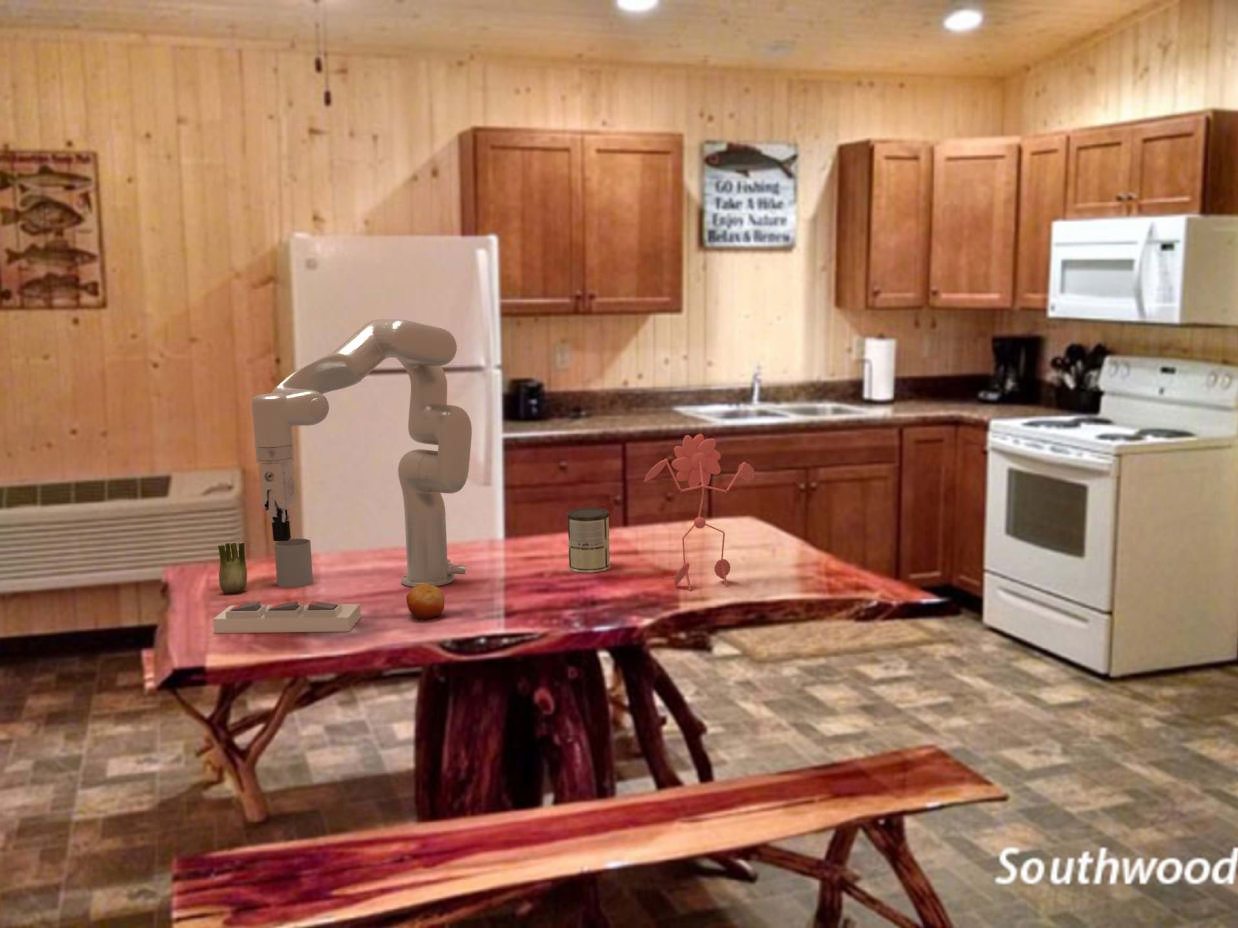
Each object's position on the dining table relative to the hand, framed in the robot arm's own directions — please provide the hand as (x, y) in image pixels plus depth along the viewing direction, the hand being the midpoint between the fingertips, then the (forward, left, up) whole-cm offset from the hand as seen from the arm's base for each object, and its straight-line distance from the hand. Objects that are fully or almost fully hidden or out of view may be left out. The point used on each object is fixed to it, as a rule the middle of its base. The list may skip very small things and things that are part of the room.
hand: (282, 539), depth 250 cm
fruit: (-29, -3, -18) cm, 34 cm away
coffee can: (-62, -44, -18) cm, 78 cm away
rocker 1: (+7, +4, -14) cm, 16 cm away
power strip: (-1, +2, -18) cm, 18 cm away
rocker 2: (-9, +4, -14) cm, 17 cm away
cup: (+8, -33, -18) cm, 39 cm away
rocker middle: (-1, +4, -14) cm, 14 cm away
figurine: (-88, -29, -18) cm, 94 cm away
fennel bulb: (+20, -25, -18) cm, 37 cm away
